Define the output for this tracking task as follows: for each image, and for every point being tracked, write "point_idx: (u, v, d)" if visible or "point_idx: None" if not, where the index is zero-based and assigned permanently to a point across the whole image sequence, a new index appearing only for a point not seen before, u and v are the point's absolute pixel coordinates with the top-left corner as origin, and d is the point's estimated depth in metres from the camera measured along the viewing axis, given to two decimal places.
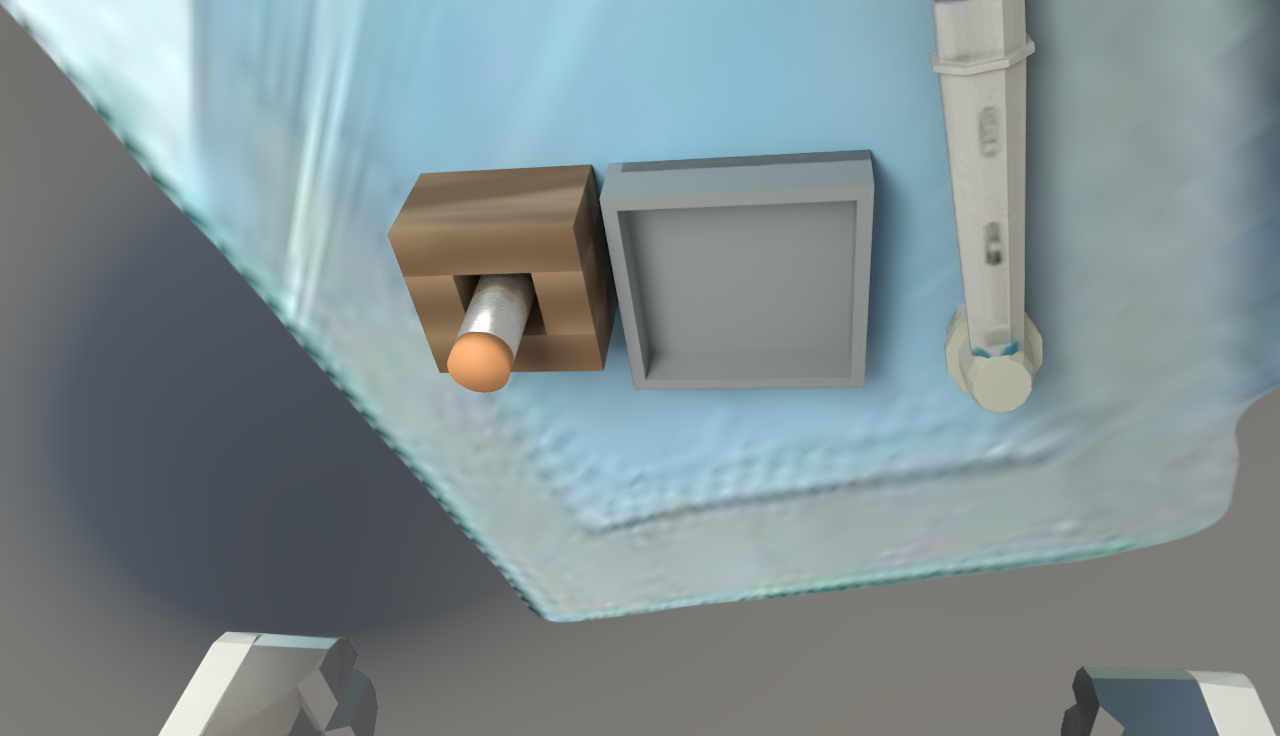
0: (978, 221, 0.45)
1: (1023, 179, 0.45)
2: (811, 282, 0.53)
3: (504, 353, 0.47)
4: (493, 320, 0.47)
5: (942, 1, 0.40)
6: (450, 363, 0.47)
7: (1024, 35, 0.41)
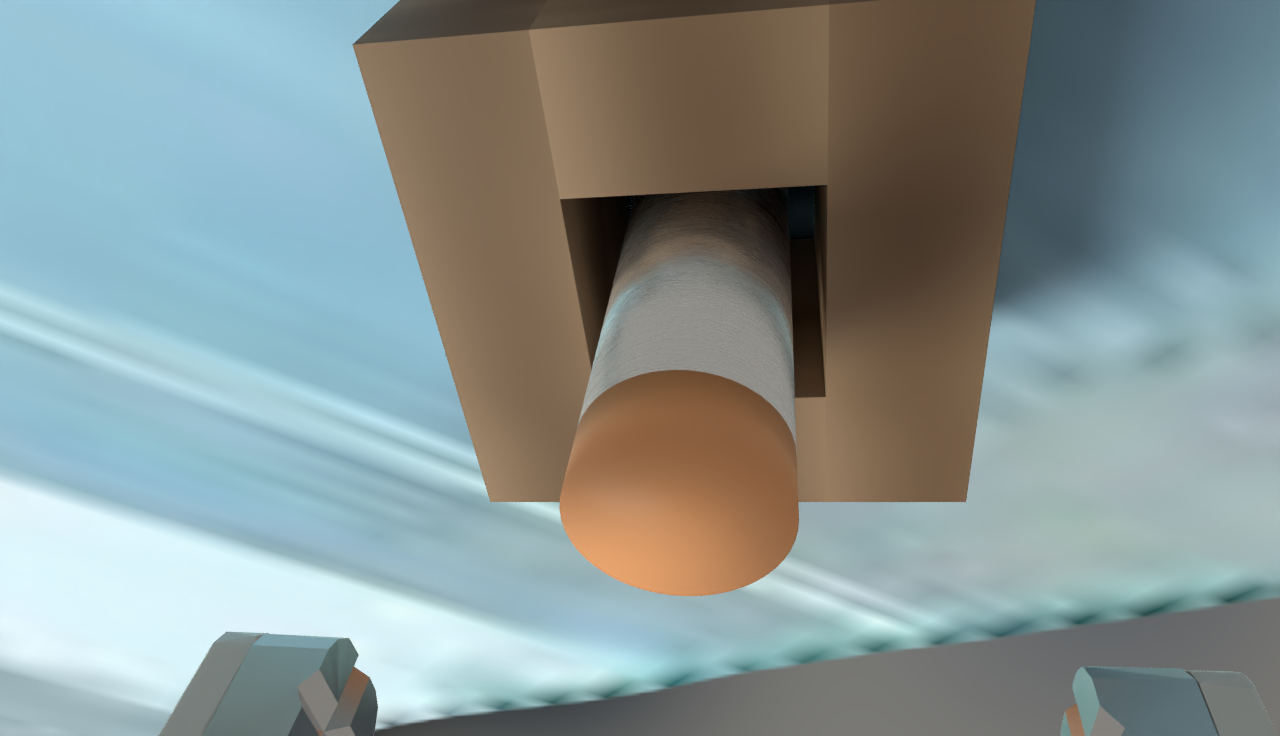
0: None
1: None
2: None
3: (620, 412, 0.12)
4: (589, 381, 0.14)
5: None
6: (651, 583, 0.13)
7: None
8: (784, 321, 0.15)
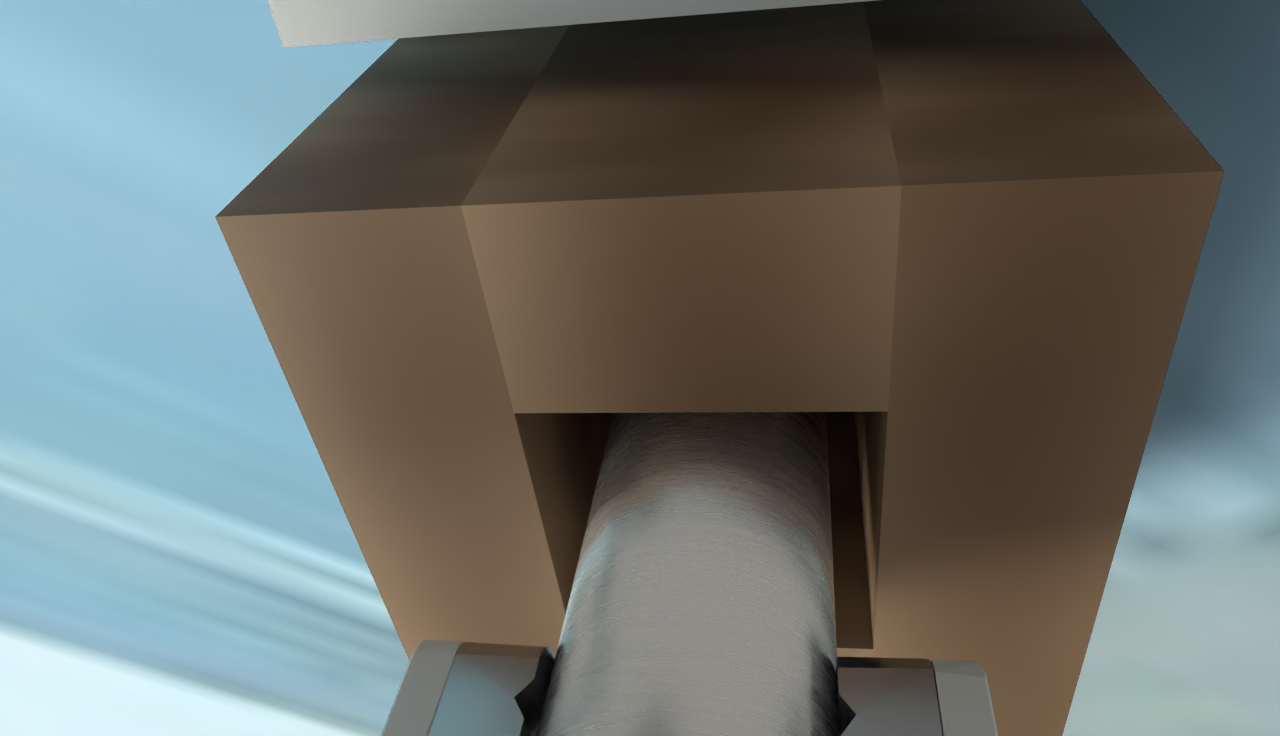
0: None
1: None
2: None
3: None
4: (544, 712, 0.10)
5: None
6: None
7: None
8: (825, 608, 0.10)
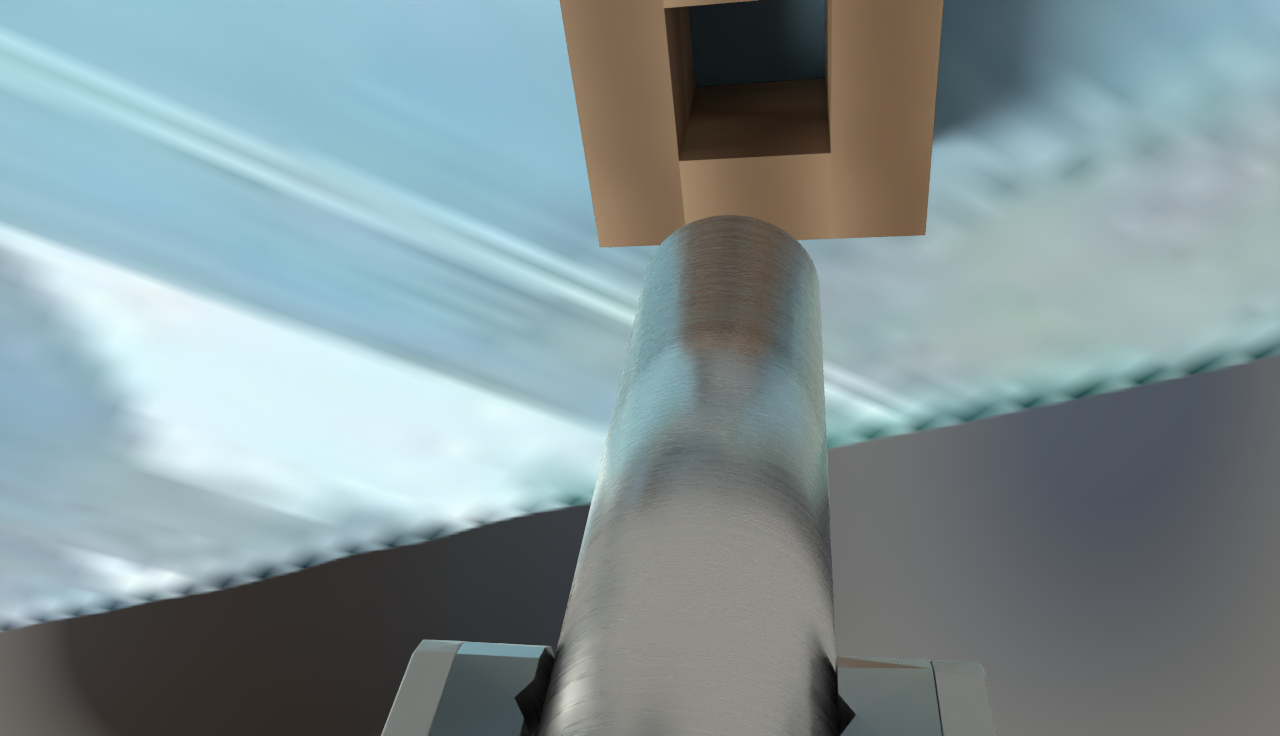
0: None
1: None
2: None
3: None
4: (543, 714, 0.10)
5: None
6: None
7: None
8: (824, 609, 0.10)
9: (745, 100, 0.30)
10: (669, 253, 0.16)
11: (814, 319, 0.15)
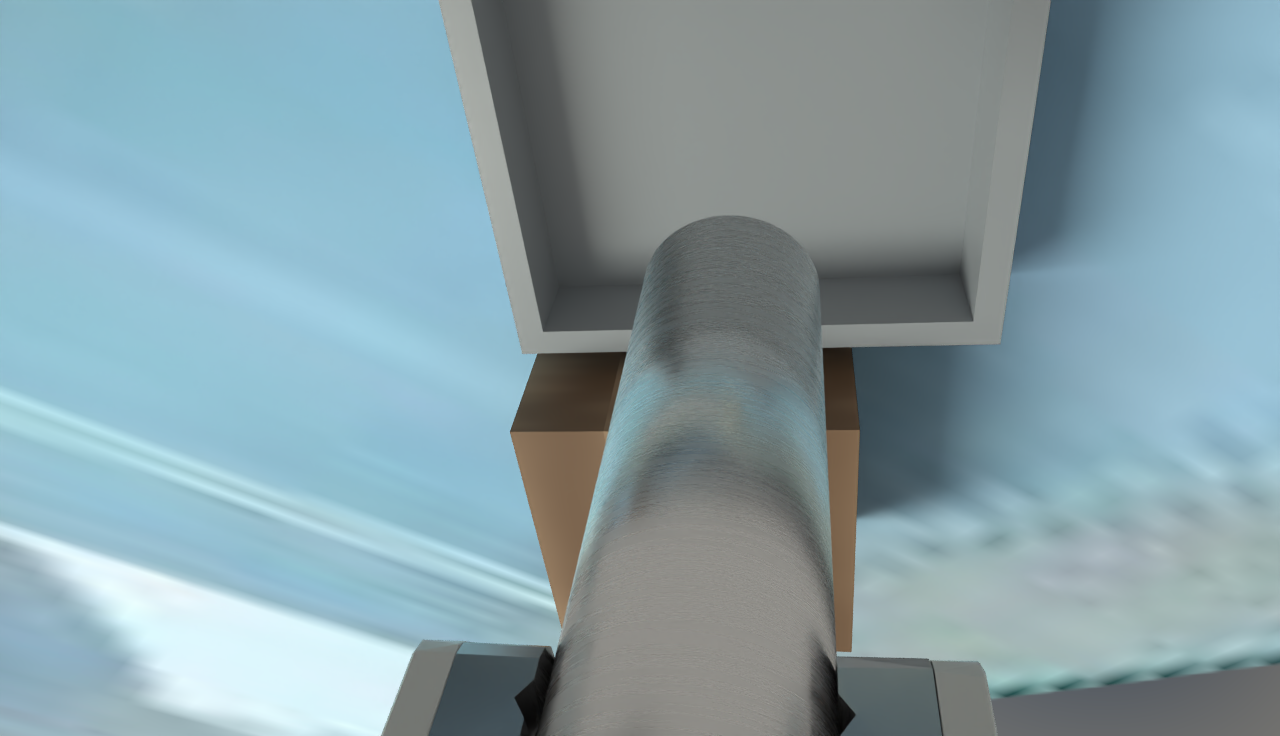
0: None
1: None
2: None
3: None
4: (543, 714, 0.10)
5: None
6: None
7: None
8: (824, 610, 0.10)
9: None
10: (669, 253, 0.16)
11: (814, 319, 0.15)
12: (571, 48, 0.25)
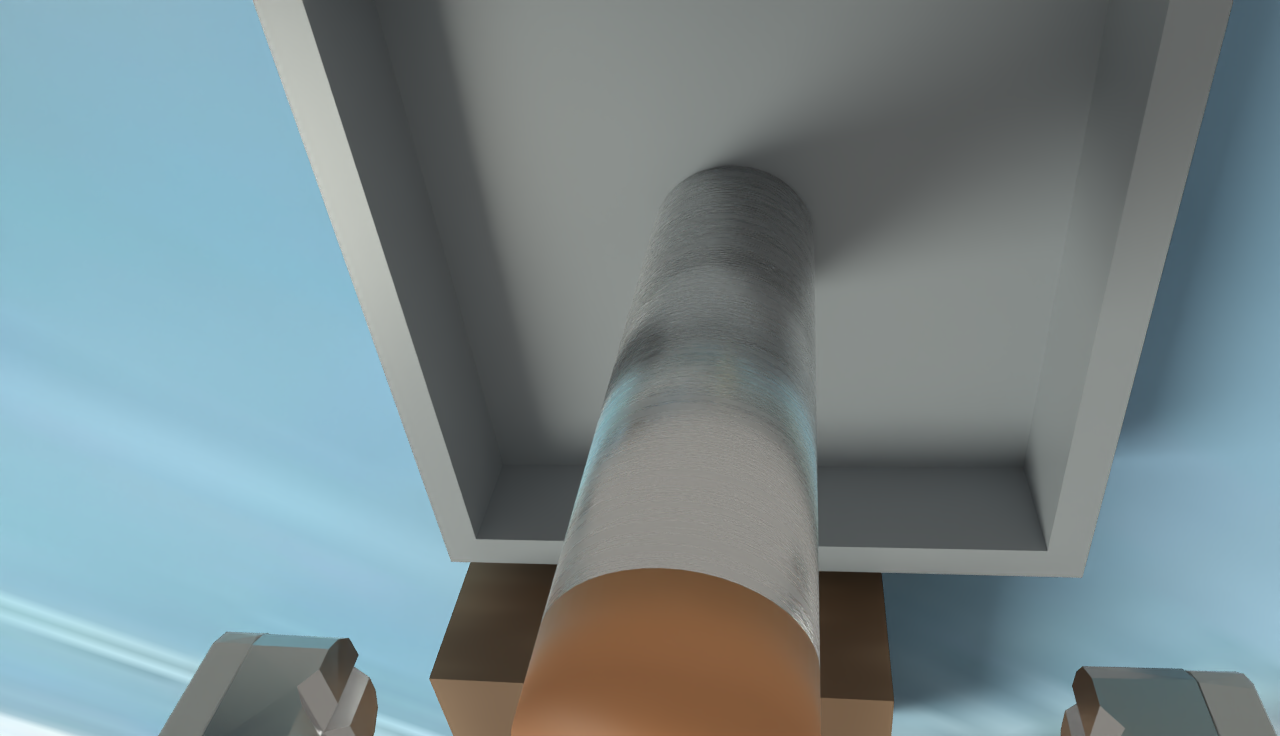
0: None
1: None
2: (776, 35, 0.16)
3: (589, 629, 0.09)
4: (561, 554, 0.11)
5: None
6: None
7: None
8: (807, 476, 0.12)
9: None
10: (676, 199, 0.17)
11: (807, 255, 0.16)
12: (505, 187, 0.18)
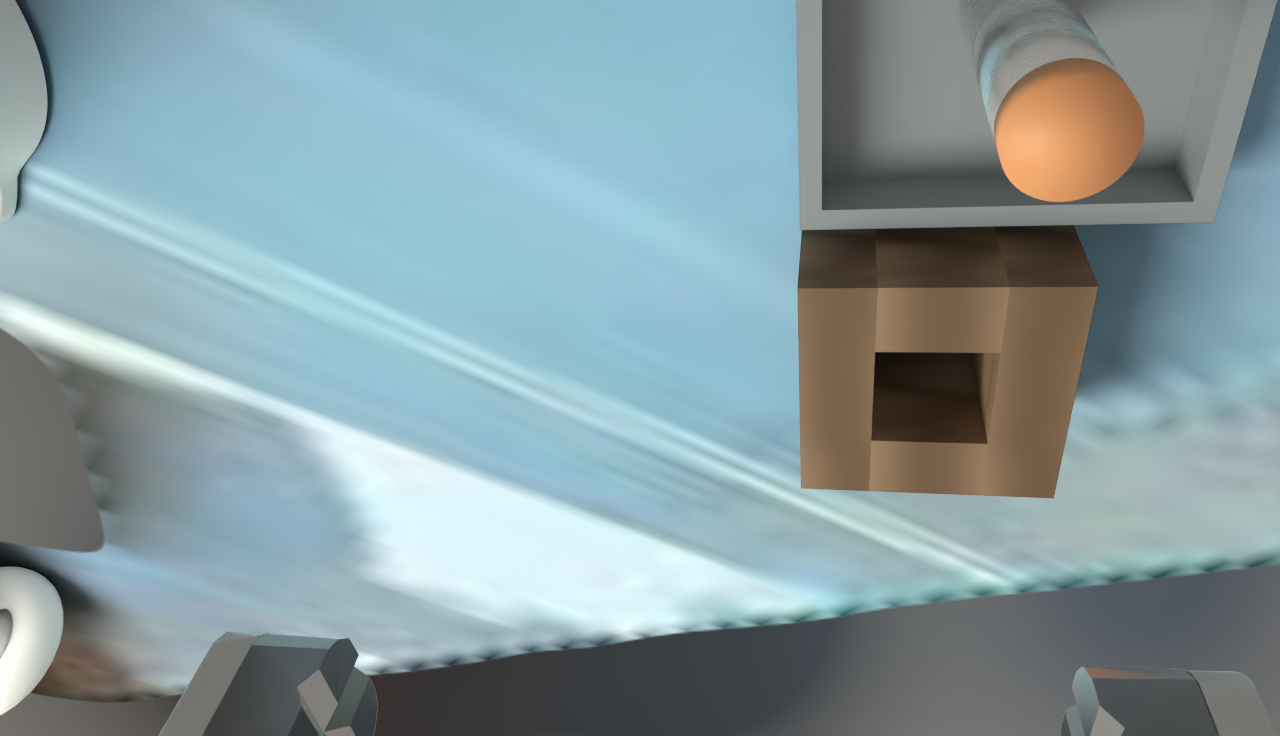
0: None
1: None
2: None
3: (1046, 75, 0.22)
4: (998, 84, 0.24)
5: None
6: (1040, 193, 0.23)
7: None
8: None
9: (911, 373, 0.40)
10: None
11: None
12: None
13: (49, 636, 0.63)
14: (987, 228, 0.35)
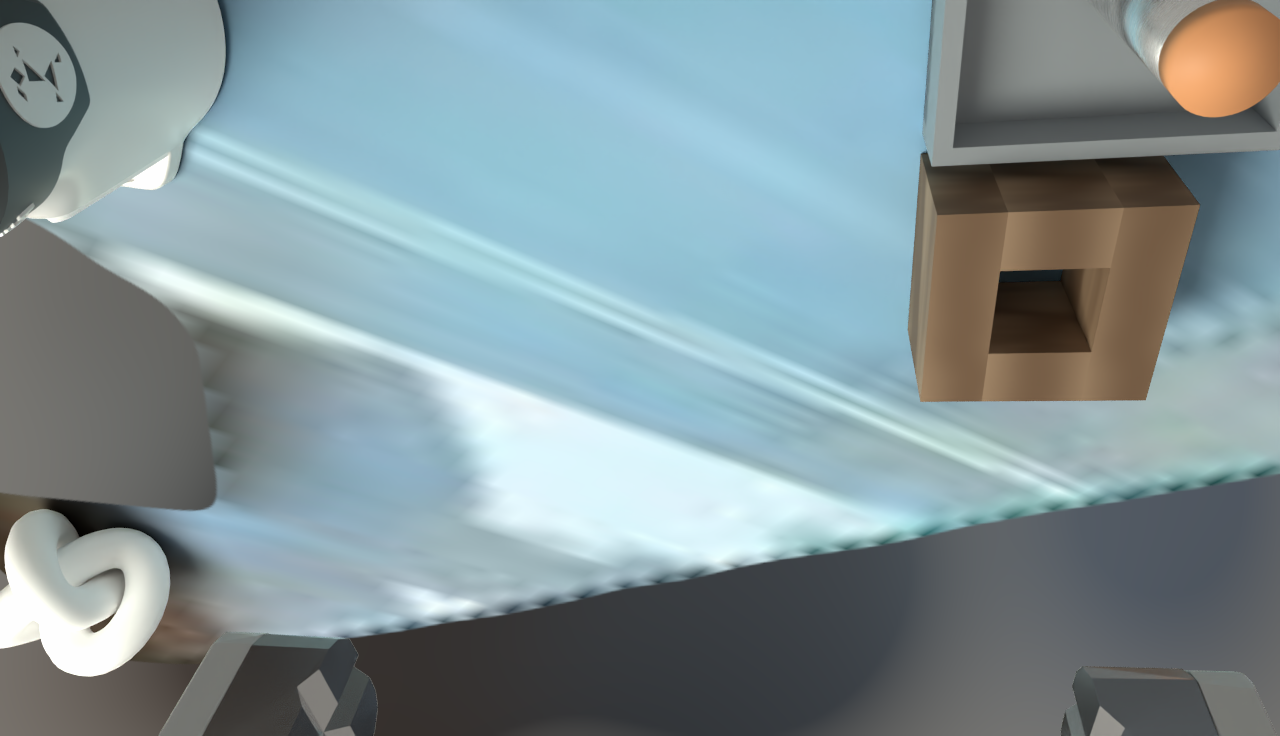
0: None
1: None
2: None
3: (1212, 12, 0.27)
4: (1158, 23, 0.29)
5: None
6: (1201, 110, 0.28)
7: None
8: None
9: (1011, 299, 0.45)
10: None
11: None
12: None
13: (161, 592, 0.66)
14: (1090, 163, 0.40)
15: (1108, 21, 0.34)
